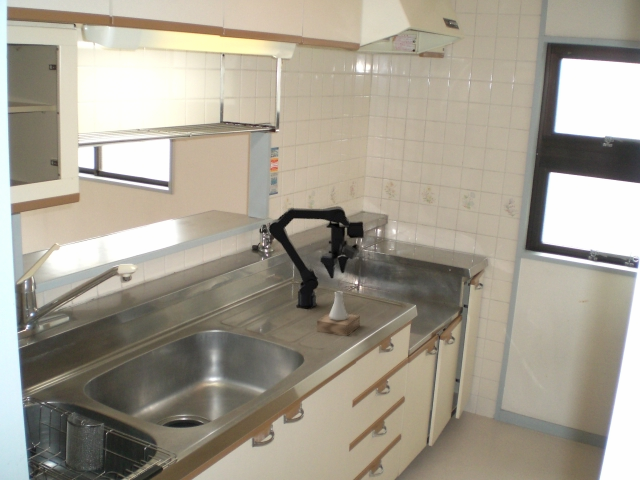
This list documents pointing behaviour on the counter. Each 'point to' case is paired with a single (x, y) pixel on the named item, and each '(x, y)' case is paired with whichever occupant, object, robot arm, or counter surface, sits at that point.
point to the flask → (338, 308)
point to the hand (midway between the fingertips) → (337, 275)
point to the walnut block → (338, 325)
